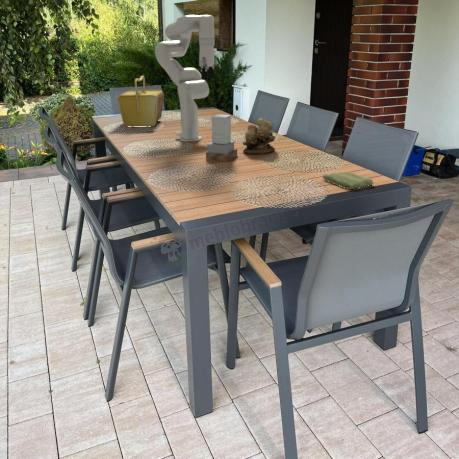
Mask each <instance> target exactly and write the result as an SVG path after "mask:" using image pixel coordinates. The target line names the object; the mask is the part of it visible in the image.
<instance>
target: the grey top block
mask: <svg viewBox="0 0 459 459" xmlns="http://www.w3.org/2000/svg"><path fill="white" fill-rule="evenodd" d="M234 148H235V140H231V142H229V143H227V144H217V143H212V141H210V142H208V143H207V144H206V149H207V150H206V152H207V153H220V154H228V153H229V152H231V151H232V150H234Z"/></svg>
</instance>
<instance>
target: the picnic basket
mask: <svg viewBox="0 0 459 459" xmlns="http://www.w3.org/2000/svg"><path fill="white" fill-rule="evenodd" d="M137 82H138V83H139V82H142V83H143V84H142V85H143V88H142V89H138V84H137ZM164 96H165V93H164V91H163V90H161V89H146V79H145V76H144V75H141V76H140V77H139V78H138V77H137V78H135V79H134V89H129V90H127V91H125V92H123V93H121V94H120V95H118V96H117V97H116V102H117V104H118V109H119V112H120V116H121V119H122V123H123V125H124V126H125V127H127V126H153V127H154V126H155V125H157V122H158V121H159V120H161V118H162V114H163V105H164Z"/></svg>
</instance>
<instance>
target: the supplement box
mask: <svg viewBox="0 0 459 459" xmlns="http://www.w3.org/2000/svg"><path fill="white" fill-rule="evenodd" d="M231 131H232V115H231V114H220V113H219V114H214V115H212V116H211V142H212V143H217V144H227V143H229V142H231V141H232V132H231Z"/></svg>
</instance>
